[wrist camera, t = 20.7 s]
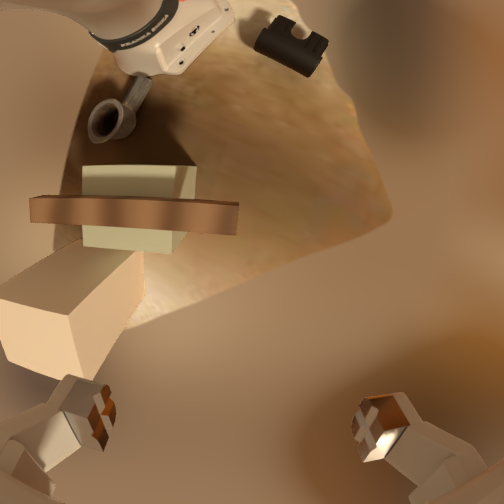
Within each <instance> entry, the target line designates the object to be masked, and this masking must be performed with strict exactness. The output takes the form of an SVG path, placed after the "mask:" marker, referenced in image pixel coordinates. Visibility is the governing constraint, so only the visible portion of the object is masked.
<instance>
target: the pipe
mask: <svg viewBox="0 0 504 504" xmlns="http://www.w3.org/2000/svg"><path fill="white" fill-rule="evenodd" d="M152 84H153V81H152V80H150V79H148V78H146V77H144V76H141V75H138V76H137V77H136V78H135V80H134V82H133V83H132V85H131V87H130V89H129V90H128V92H127V94H126V97H125V98H124V100H123V102H122V104H121V103H120V102H119V101H117V100H116V99H106V100H104V101H102V102H100V103H99V104H97V105H96V106H95V108H94V109H93V111H92V112H91V114H90V117H89V120H88V135H89V138H90V140H91V141H92V142H93V143H103V142H106V141H107V140H109V139H123V138H126V137H127V136H128V135H129V134H130V133H131V132H132V131H133V129H134V128H135V126H136V115H135V114H136V112H137V110H138V109H139V107H140V105H141V104H142V102H143V100H144V99H145V97H146V95H147V93H148V91H149V90H150V88H151V86H152Z"/></svg>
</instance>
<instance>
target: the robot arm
mask: <svg viewBox="0 0 504 504" xmlns="http://www.w3.org/2000/svg"><path fill="white" fill-rule="evenodd" d="M10 9H31V10H40V11H47V12H53V13H57V14H61V15H64V16H67V17H69V18H71V19H73V20H74V21H76V22H77V23H79V24H80V25H82V26H83V27H85V28H86V29H88V31H89V33H90V35H91V36H92V37H93V39H94V40H95V41H96V42H97V43H99V44H100V45H101V46H102V47H104V48H105V49H106V50H109V51H111V52H112V53H113V55H114V57H115V60H116V63H117V65H118V66H119V68H120V69H121V70H122V71H124V72H125V73H127V74H129V75H132V76H138V75H141V76H144V77H147V76H153V75H157V74H169V75H179V74H181V73H183V72H184V71H185V69H186V68H187V67H188V66H189V65H190V64H191V63H192V62H193V61H194V60H195V59H196V58H197V57H198V56H199V55H200V54H201V53H202V52H203V51H204V50H205V49H206V48H207V47H208V46H209V45H210V44H211V43H212V42H213V41H214V40H215V39H216V38H217V37H218V36H219V35H220V34H221V33H222V32H223V31H224V30H225V29H227V28H228V27H229V26H230V25H231V24H232V23H233V22H234V21H235V16H234V12H233V9H232V7H231V5H230V4H229V3H228V2H227V0H0V11H3V10H10ZM226 9H227V10H228V11H225V10H226ZM213 32H214V33H213ZM180 62H184V63H183V64H182V65H180ZM110 395H111V390H110V387H109V386H108V385H106V384H102V383H99V382H95V381H91V380H88V379H85V378H81V377H77V376H74V375H71V374H67V375H65V376H64V377H63V379H62V380H61V382H60V383H59V385H58V386H57V388H56V389H55V391H54V392H53V394H52V395H51V397H50V399H49V400H48V402H47V403H46V404H43V403H42V404H40V405H38V406H35V407H33V408H31V409H29V410H26V411H24V412H22V413H20V414H17V415H15V416H13V417H11V418H8V419H6V420H4V421H1V422H0V504H65V503H63V502H60V501H58V500H56V499H54V498H52V494H53V491H54V489H55V483H54V482H53V481H52V479H51V478H50V477H49V476H48V475H47V474H46V473H45V472H47V471H48V470H50V469H51V468H52V467H54V466H55V465H57V464H58V463H59V462H61V461H62V460H63V459H65V458H66V457H68V456H69V455H70V454H72V453H73V452H74V451H76V450H77V449H78V448H80V447H81V446H80V445H82V446H85V447H88V448H91V449H95V450H98V451H102V452H104V449H105V447H106V444H107V441H108V438H109V436H108V433H107V431H108V430H110V429H111V428H113V426H114V423H115V419H116V407H115V403H114V401H113V400H111V399H110ZM359 407H360V409H361V410H359V411H358V412H357V413H356V414H355V415H354V417H353V419H352V425H351V429H352V434H353V437H354V439H355V440H357V441H359V442H360V444H359V446H358V450H359V453H360V455H361V458H362V460H363V462H367V461H372V460H377V459H382V458H385V460H386V461H387V462H389V463H390V464H391V465H392V466H393V467H395V468H396V469H397V470H398V471H400V472H401V473H402V474H403V475H405V476H406V477H407V478H409V479H410V480H411V481H412V482H414V483H415V484H416V485H418V486H419V487H418V488H416V489H415V490H414V491H413V492H412V493H411V494H410V496H409V500H410V502H411V504H504V459H503V460H501V461H500V462H498V463H497V464H495V465H494V466H492V467H491V468H490V469H488V468H487V467H486V465H485V463H484V462H483V460H482V459H481V457H480V456H479V454H478V452H477V451H476V449H475V448H474V447H473V445H470V444H469V443H466V442H465V441H463V440H461V439H459V438H457V437H455V436H453V435H451V434H449V433H447V432H445V431H443V430H441V429H440V428H438V427H436V426H434V425H432V424H430V423H428V422H427V421H426V422H423V421H422V420H421V418H420V416H419V415H418V413H417V412H416V410H415V409H414V407H413V406H412V404H411V402H410V401H409V399H408V398H407V396H406V395H405V393H403V392H399V393H393V394H386V395H380V396H373V397H367V398H364V399H363V400H362V401H361V403H360V404H359Z"/></svg>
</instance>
